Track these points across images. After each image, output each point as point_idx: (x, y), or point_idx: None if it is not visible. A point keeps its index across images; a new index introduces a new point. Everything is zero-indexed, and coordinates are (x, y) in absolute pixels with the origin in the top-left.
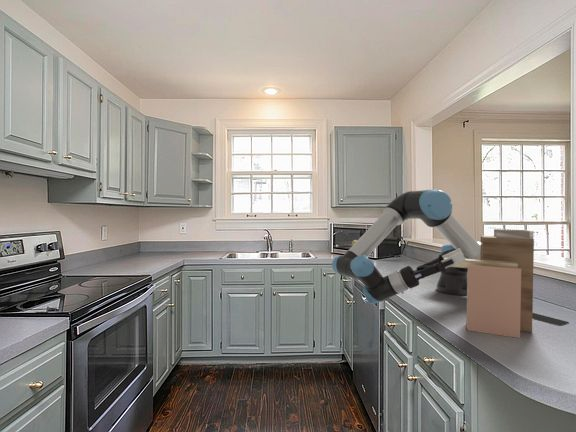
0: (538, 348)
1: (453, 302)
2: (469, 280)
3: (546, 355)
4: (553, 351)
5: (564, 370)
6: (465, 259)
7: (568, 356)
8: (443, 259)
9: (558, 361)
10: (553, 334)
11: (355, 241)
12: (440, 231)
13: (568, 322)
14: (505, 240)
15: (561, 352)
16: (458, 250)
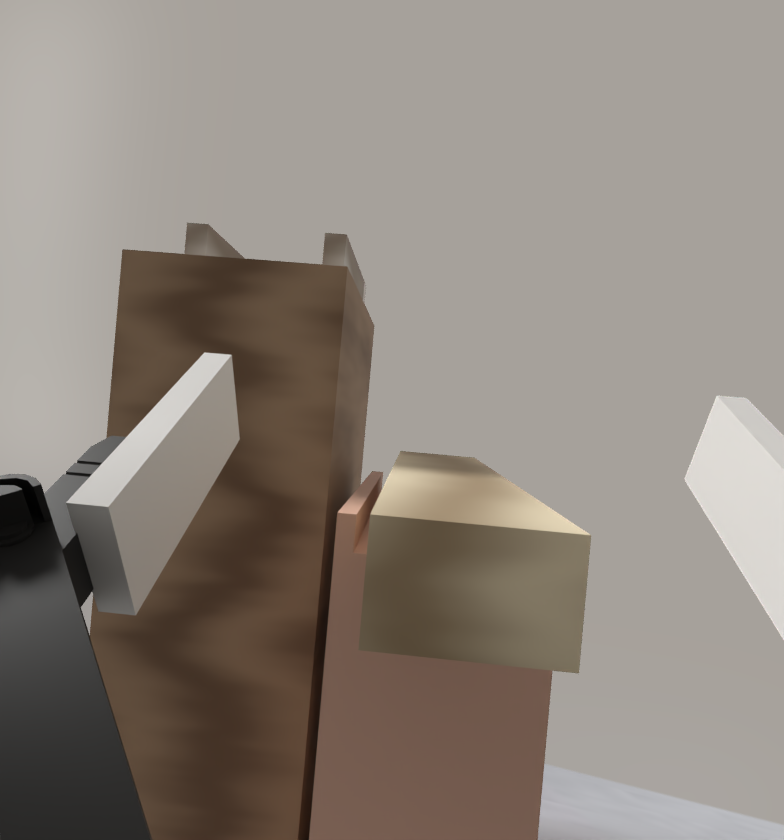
0: (570, 836)
1: None
2: (547, 691)
3: (641, 835)
4: (564, 800)
5: (764, 831)
6: (444, 483)
7: (583, 778)
8: (81, 566)
9: (676, 819)
10: None
11: None
12: None
13: None
14: (361, 317)
15: (553, 783)
16: (225, 383)
